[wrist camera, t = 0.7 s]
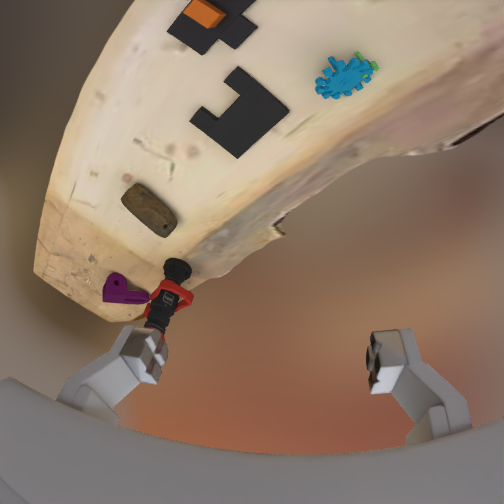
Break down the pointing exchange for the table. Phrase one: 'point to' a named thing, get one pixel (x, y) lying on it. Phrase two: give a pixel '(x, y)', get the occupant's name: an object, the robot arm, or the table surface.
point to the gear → (345, 76)
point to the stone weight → (149, 210)
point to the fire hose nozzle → (168, 295)
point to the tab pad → (222, 31)
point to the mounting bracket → (122, 291)
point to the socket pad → (242, 115)
